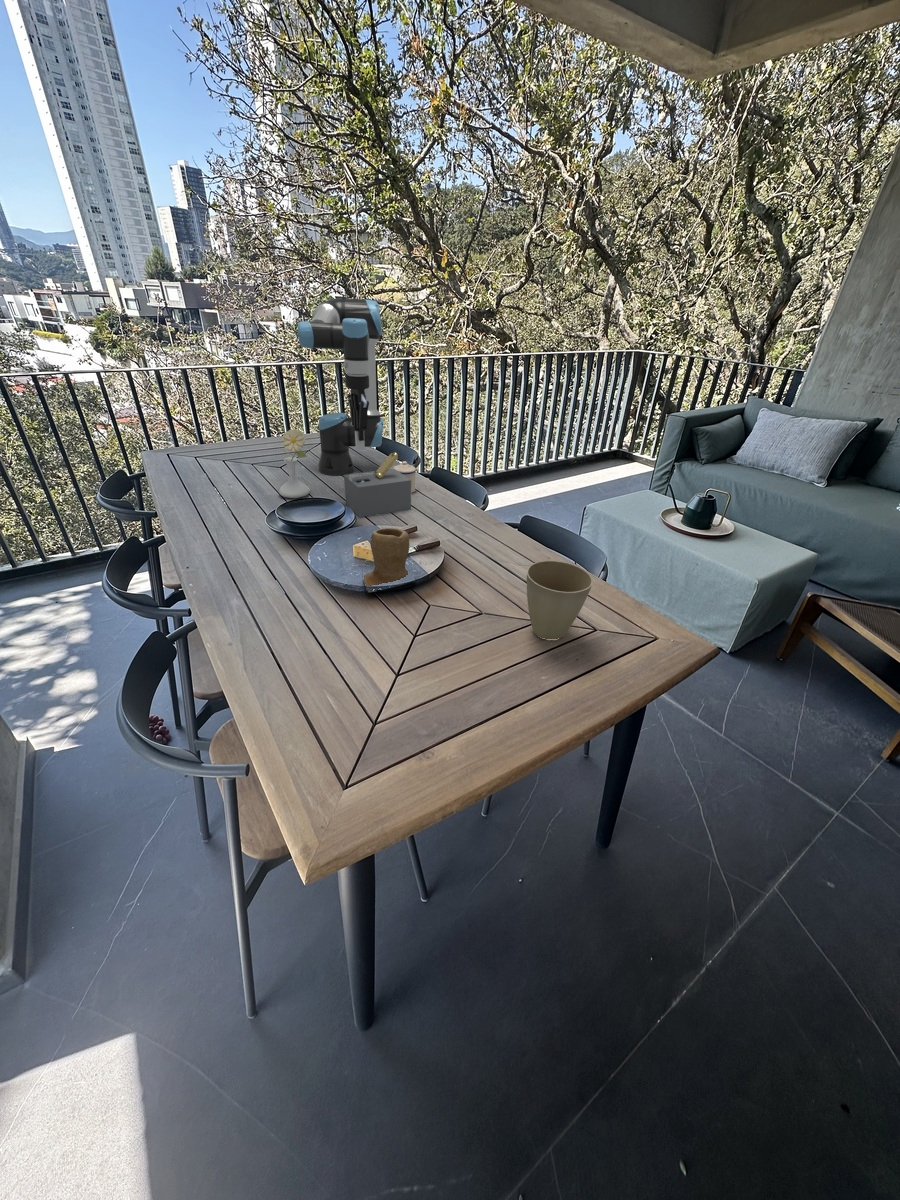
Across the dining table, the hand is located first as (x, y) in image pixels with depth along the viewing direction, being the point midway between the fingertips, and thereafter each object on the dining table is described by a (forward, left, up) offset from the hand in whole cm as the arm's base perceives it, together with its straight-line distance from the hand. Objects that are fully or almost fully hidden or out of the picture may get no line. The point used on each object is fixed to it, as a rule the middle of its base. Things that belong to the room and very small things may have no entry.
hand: (360, 449), depth 170 cm
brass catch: (0, +10, -7) cm, 12 cm away
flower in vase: (-22, -18, -22) cm, 36 cm away
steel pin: (0, 0, -21) cm, 21 cm away
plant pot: (+91, +12, -22) cm, 94 cm away
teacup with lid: (-12, +21, -22) cm, 33 cm away
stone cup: (+52, -14, -22) cm, 58 cm away
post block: (0, +6, -22) cm, 22 cm away
